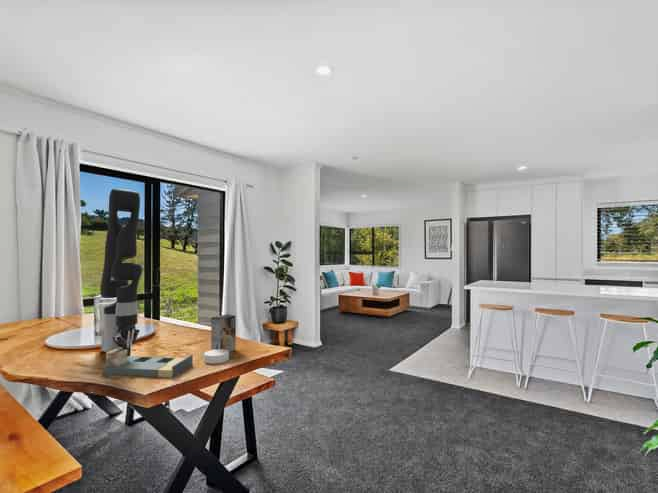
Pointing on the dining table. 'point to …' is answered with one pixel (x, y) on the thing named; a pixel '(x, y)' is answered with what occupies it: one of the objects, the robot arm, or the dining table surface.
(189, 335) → the dining table surface
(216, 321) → the coffee box
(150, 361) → the box
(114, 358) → the block
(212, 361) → the white ridged round container
